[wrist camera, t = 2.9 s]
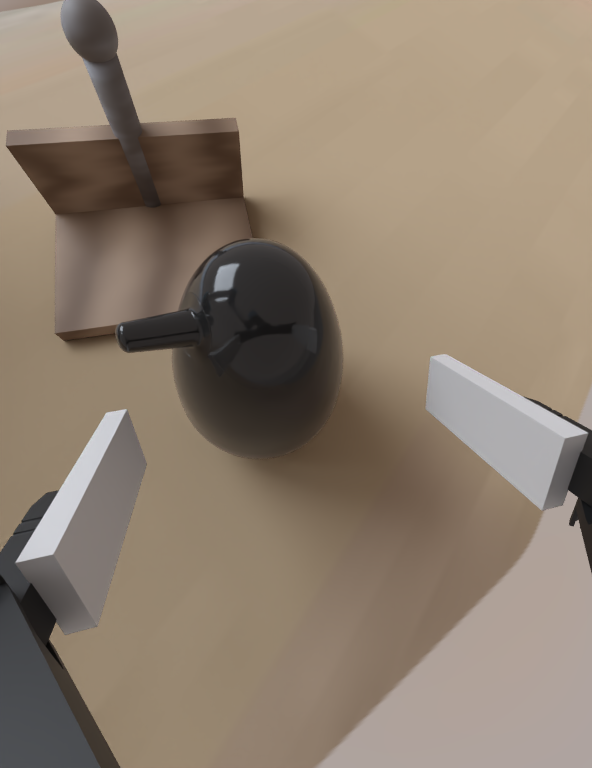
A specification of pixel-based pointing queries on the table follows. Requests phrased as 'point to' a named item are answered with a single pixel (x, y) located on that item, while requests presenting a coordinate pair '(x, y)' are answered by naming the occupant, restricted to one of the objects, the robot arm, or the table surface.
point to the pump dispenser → (250, 349)
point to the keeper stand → (129, 194)
